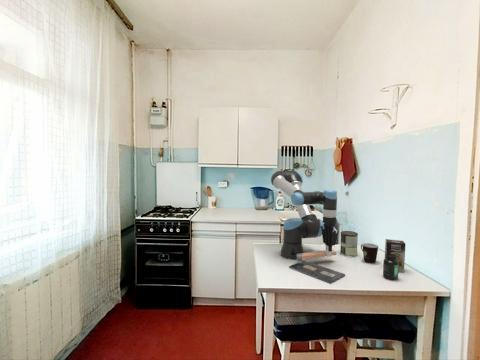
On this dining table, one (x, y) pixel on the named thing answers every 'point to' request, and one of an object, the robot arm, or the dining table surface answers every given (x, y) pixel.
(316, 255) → the swing bar
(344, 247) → the coffee can
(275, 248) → the dining table surface
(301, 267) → the label plate
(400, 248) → the coffee box
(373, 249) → the coffee mug
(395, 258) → the supplement bottle
